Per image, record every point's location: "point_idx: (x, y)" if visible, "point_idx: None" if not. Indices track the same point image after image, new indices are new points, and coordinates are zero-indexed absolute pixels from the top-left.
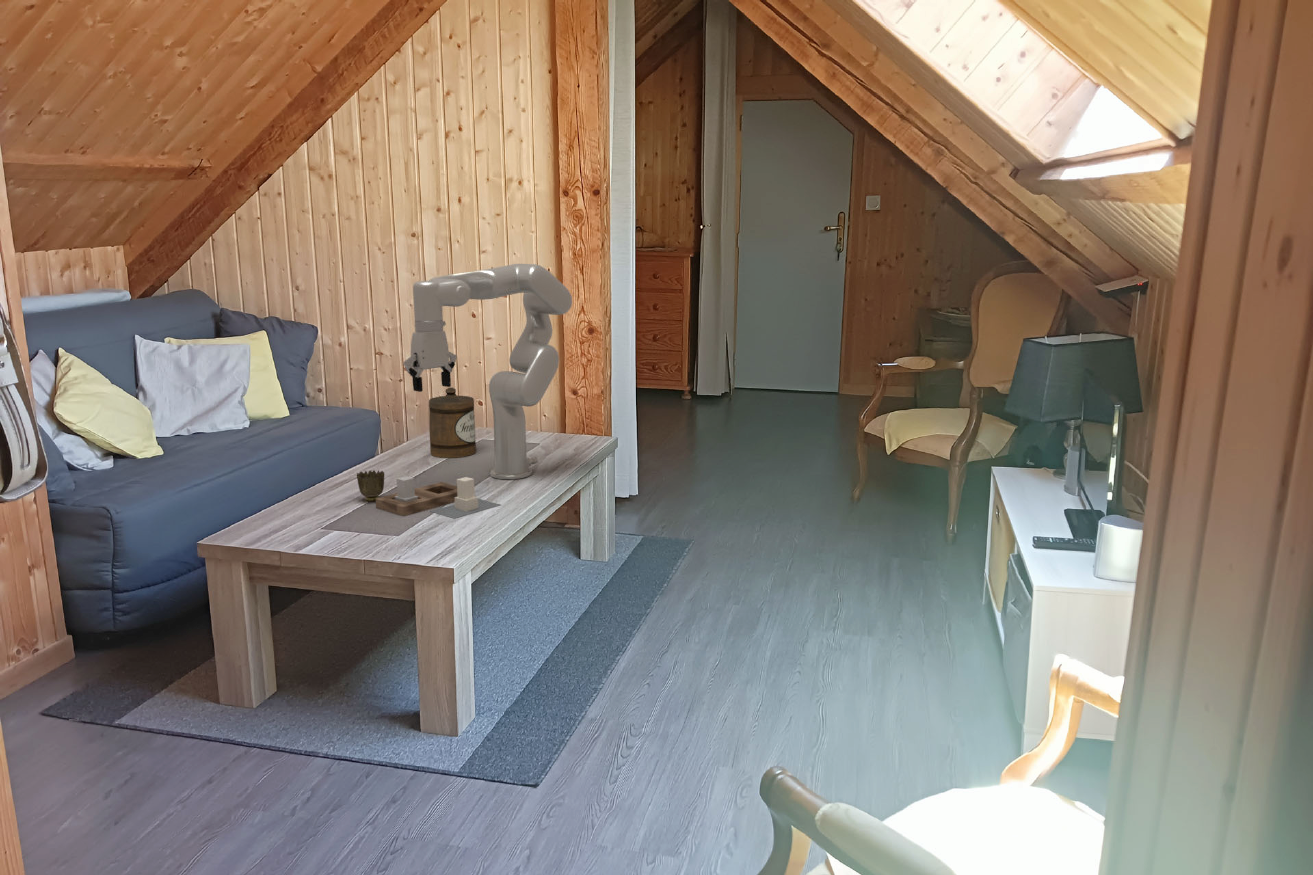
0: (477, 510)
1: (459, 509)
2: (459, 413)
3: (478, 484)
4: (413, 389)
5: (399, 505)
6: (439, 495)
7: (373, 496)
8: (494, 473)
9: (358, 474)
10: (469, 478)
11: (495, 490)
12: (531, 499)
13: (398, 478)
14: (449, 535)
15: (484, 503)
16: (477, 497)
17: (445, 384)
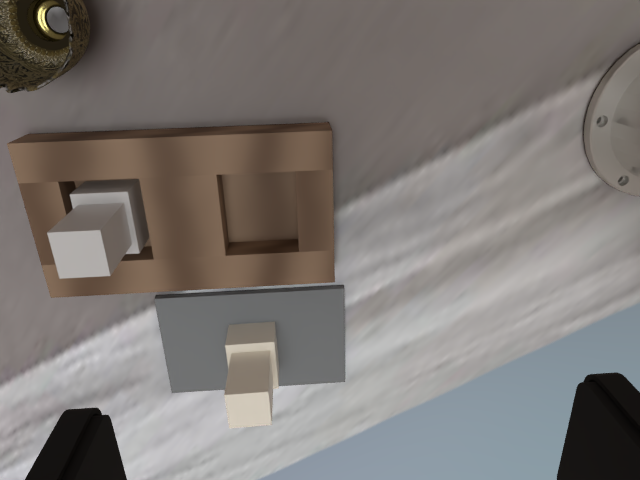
0: None
1: None
2: None
3: (486, 135)
4: (61, 415)
5: (47, 277)
6: (217, 273)
7: (39, 55)
8: (606, 101)
9: None
10: (265, 411)
11: (461, 239)
12: (449, 378)
13: (55, 235)
14: None
15: (321, 344)
16: (276, 388)
17: (578, 461)
